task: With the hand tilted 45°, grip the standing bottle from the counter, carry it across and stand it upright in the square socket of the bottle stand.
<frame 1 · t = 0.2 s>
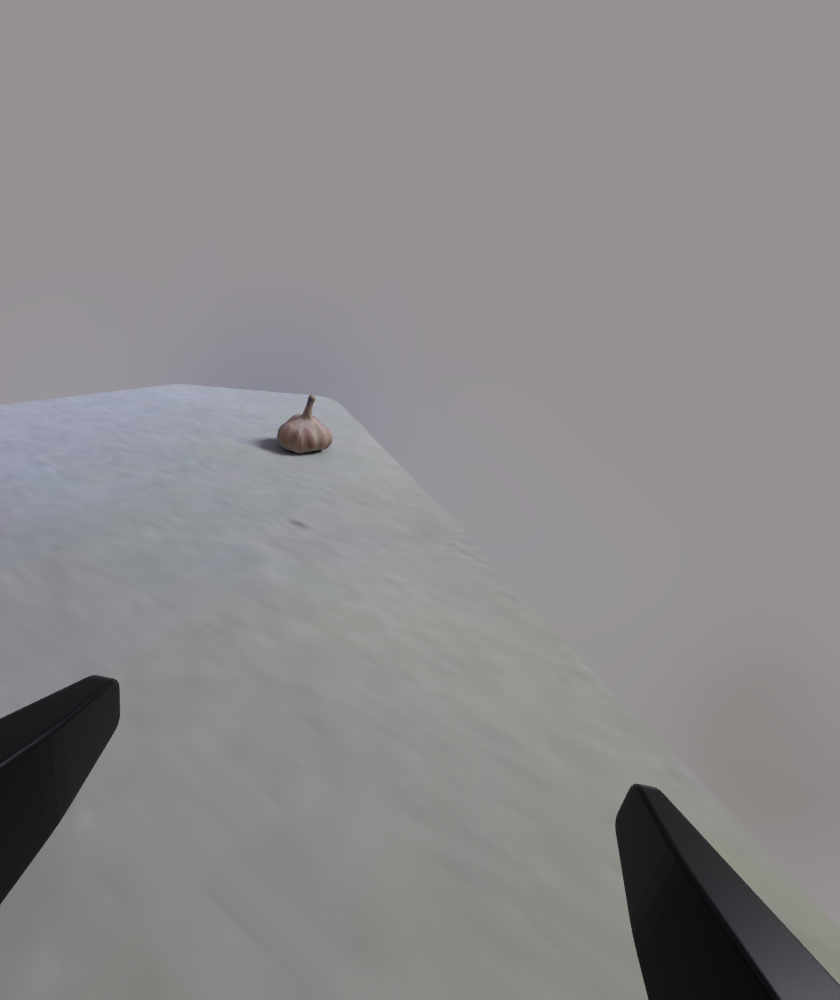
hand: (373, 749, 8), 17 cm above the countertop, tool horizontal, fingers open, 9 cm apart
garlic bulb: (303, 450, 70), on the countertop
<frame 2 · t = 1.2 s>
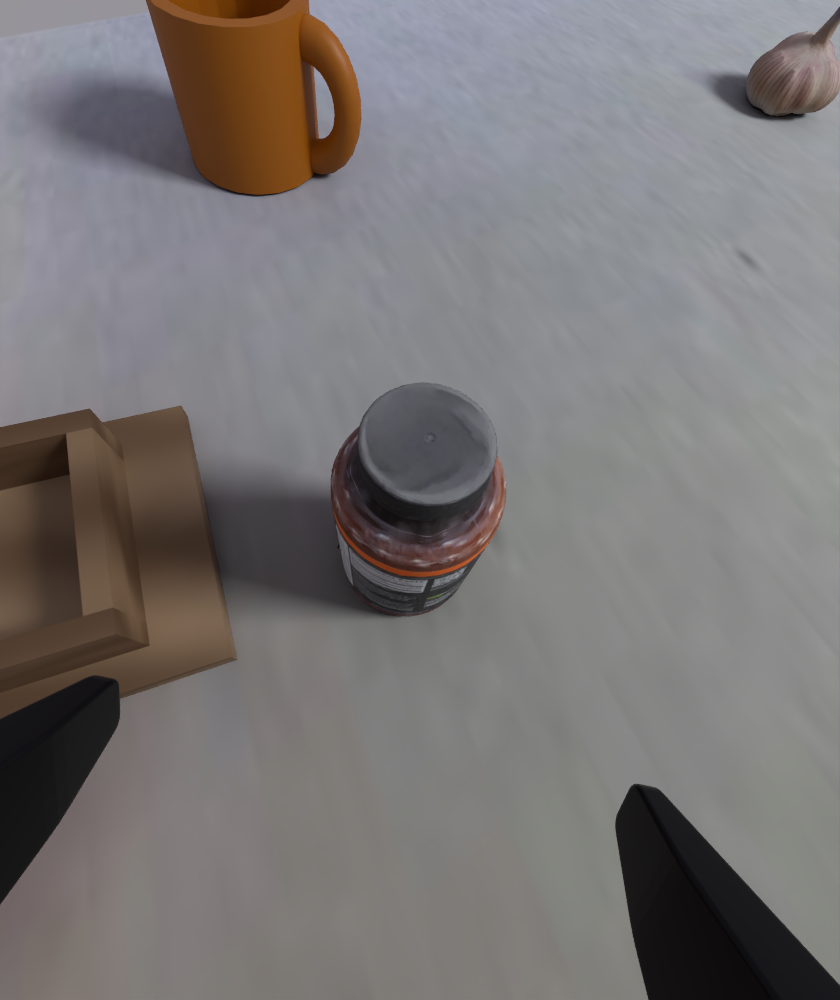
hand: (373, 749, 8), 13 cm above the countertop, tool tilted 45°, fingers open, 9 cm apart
mug: (277, 167, 35), on the countertop
garlic bulb: (774, 109, 46), on the countertop
bottle stand: (24, 576, 22), on the countertop
supplement bottle: (403, 559, 24), on the countertop
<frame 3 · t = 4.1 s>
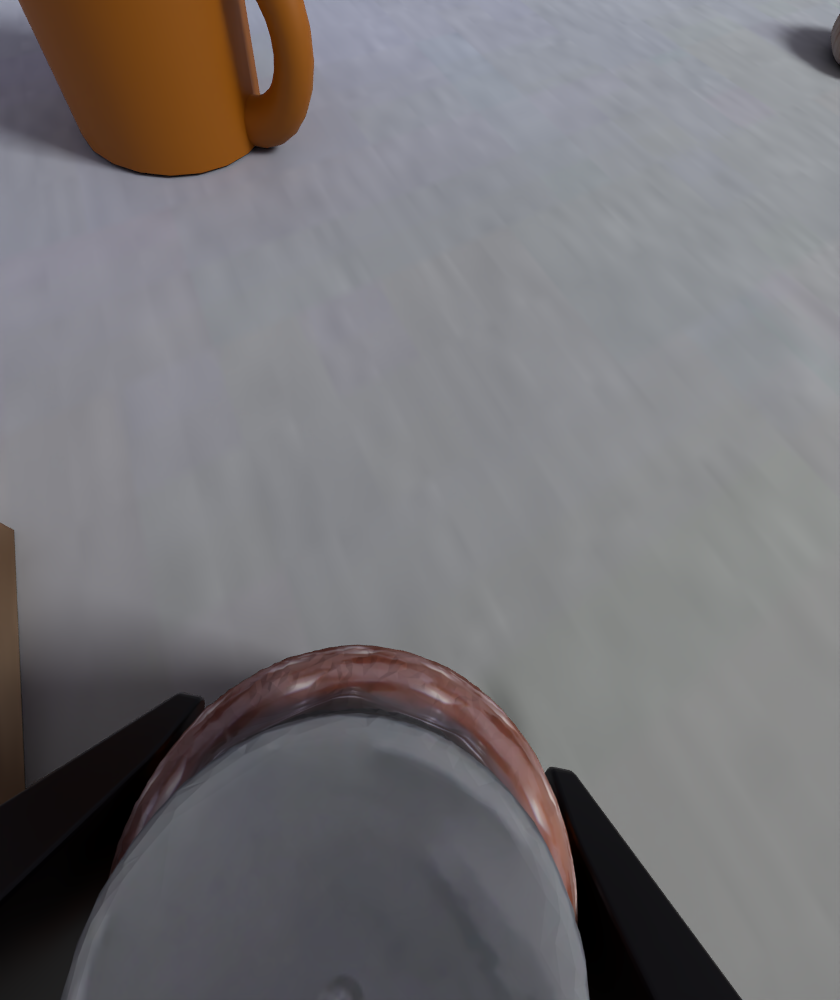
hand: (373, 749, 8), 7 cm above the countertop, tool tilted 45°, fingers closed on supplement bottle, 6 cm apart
mug: (204, 138, 25), on the countertop
supplement bottle: (361, 790, 14), on the countertop, touching gripper
when the fingers open (9 cm above the countertop, at t = 8.9 s): supplement bottle drops 1 cm, resting on bottle stand.
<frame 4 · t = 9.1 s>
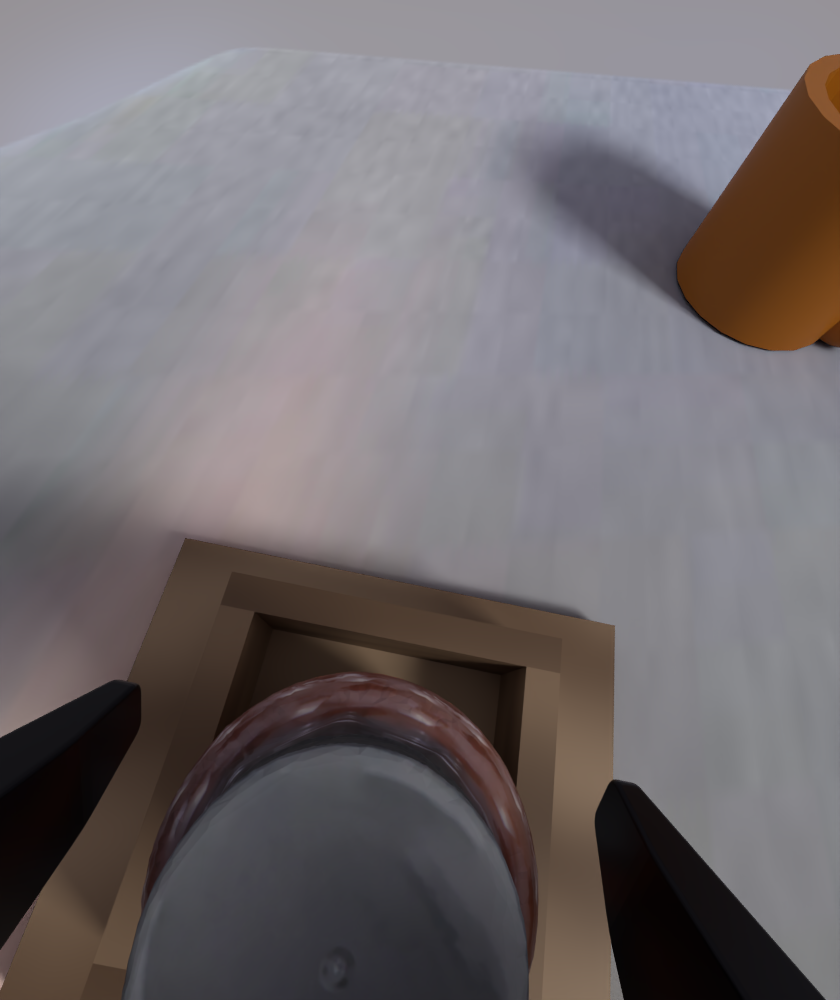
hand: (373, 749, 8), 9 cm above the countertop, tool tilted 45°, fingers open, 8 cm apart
mug: (769, 312, 27), on the countertop
bottle stand: (361, 780, 16), on the countertop
supplement bottle: (360, 790, 15), point 1 cm above the countertop, touching bottle stand
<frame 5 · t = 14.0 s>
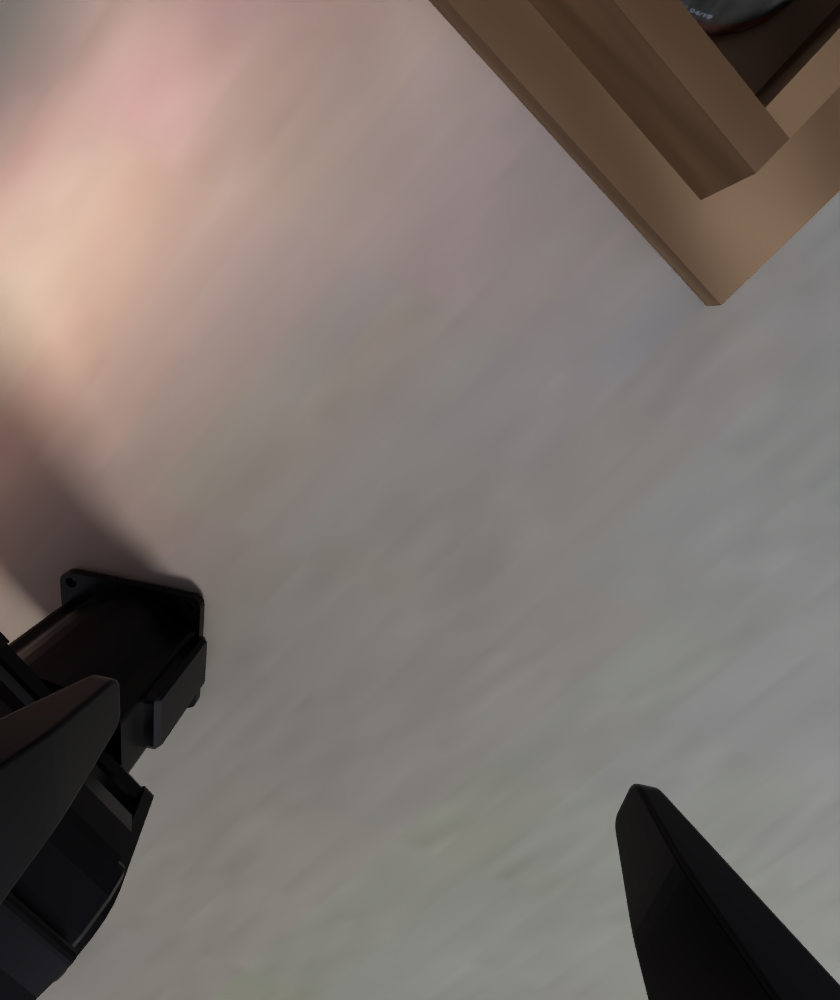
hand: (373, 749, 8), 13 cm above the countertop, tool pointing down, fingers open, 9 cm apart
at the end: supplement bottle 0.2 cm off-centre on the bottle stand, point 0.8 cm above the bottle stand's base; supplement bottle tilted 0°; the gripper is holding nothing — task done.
